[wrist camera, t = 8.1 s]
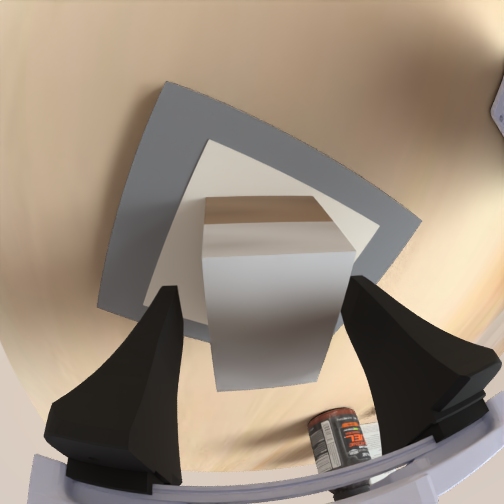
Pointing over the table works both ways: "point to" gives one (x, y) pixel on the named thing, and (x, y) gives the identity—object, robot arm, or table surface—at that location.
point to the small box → (373, 446)
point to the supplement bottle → (339, 447)
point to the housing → (271, 288)
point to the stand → (223, 185)
